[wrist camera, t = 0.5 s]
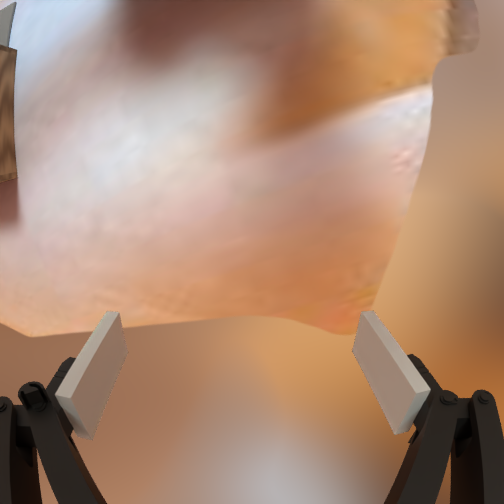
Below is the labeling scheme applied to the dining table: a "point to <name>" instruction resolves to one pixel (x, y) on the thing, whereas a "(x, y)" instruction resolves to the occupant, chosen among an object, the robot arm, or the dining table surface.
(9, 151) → the wooden u-shaped frame
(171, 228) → the dining table surface
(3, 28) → the coaster
